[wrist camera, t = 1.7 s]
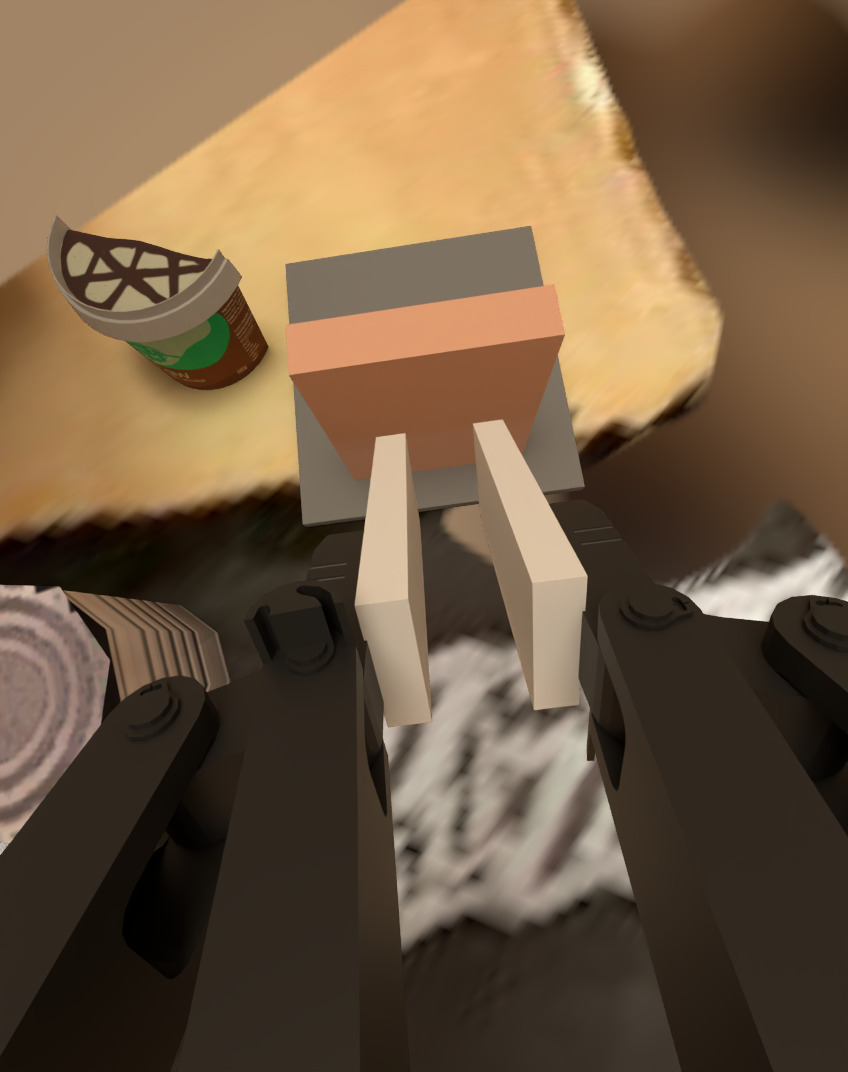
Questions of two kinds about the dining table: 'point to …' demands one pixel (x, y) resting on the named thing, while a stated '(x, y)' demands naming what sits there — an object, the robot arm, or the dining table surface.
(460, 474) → the mat
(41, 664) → the can
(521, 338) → the tile
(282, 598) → the robot arm
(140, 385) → the dining table surface
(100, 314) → the food container
